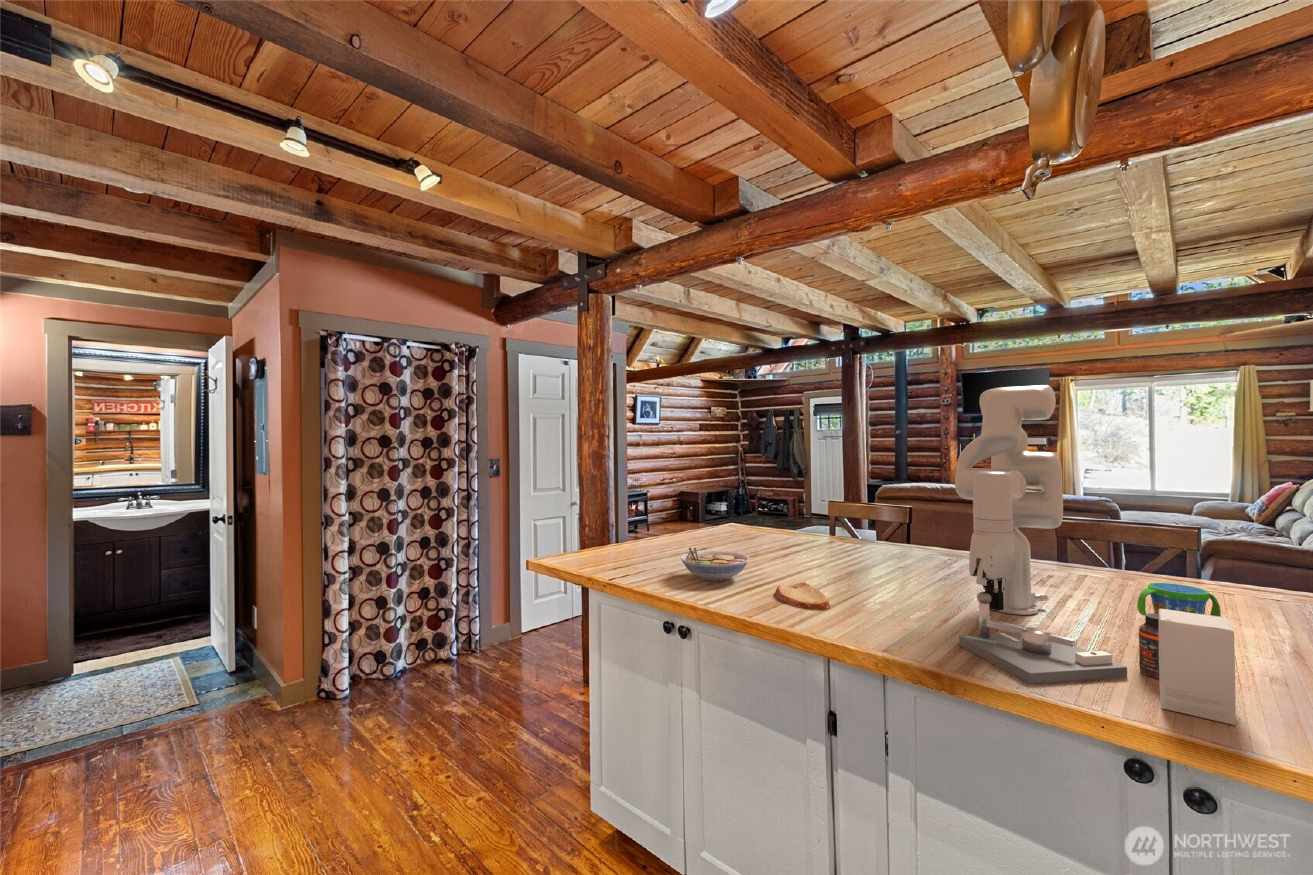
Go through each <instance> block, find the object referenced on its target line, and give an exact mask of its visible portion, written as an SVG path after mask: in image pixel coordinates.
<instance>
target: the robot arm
mask: <svg viewBox="0 0 1313 875" xmlns="http://www.w3.org/2000/svg"><path fill="white" fill-rule="evenodd" d="M1056 401H1057V399H1056V394H1055V391H1054V388H1053V387H1052V386H1050V385H1048V384H1045V385H1044V384H1040V385H1022V386H1019V385H1018V386H1005V387H1004V386H1003V387H1002V386H1001V387H995V388H990V389H987V390H984V391H983V392H982V393H980V396H979V407H980V411H981V415H982V425H981V430H980V431H981V433H980V435H978V436H977V437H976V438H974V439H973V440H972V441H970V443H968V444H967V445H966V446H965V448H964V449H963V450H962V451H961V452H960V454H959V456H958V459H957V463H956V471H955V475H954V487H955V488H954V489H955V491H956V494H957V495H958V496H959V497H960V498H961V499H965V500H972V516H973V519H972V521H973V532H972V534H971V538H970V539H971V540H970V545H969V546H970V547H969V560H968V561H969V564H968V566H969V568H968V571H969V575H970V576H971V577H976V582H975V583H976V585H977V584H978V585H981V586H982V588H983V590H984V592H987V593H989V594H990V596H991V599H992V600H991V602H990V603H989V604H990V610H991V609H992V610H991V611H994V610H995V612H998V613H1003V614H1010V615H1019V616H1020V615H1021V616H1025V615H1027V616H1028V615H1036V614H1037V613H1039V606H1038V605H1036V603H1038V602H1047V601H1048V600H1049V597H1048V595H1047V594H1046V593H1037V594H1036V593H1035V592H1033V591H1032V573H1031V572H1032V570H1031V568H1032V567H1031V566H1032V565H1031V564H1032V563H1031V560H1032V559H1031V543H1030V542H1029V539H1028V538H1027V537H1026V535H1024V534H1023V532H1022V531H1020V529H1019V528H1033V529H1048V530H1049V529H1050V530H1051V529H1052V530H1053V529H1057V528H1058V527H1060V526H1061V525H1062V524H1063V523H1062V522H1063V516H1064V495H1063V494H1064V490H1063V488H1064V487H1063V486H1064V485H1063V484H1064V483H1063V468H1062V466H1063V465H1062V463H1061V459H1060V458H1059V456H1057V455H1056V454H1055V453H1054V452H1053V453H1052V452H1047V451H1029V450H1028V446H1029V445H1028V442H1029V441H1028V440H1029V439H1028V438H1029V437H1028V434H1027V432H1026V431H1025V430H1024V429H1023V427H1022V424H1023V423H1022V422H1023V421H1042V420H1043V421H1044V420H1048V419H1050V418H1051V417H1052V415H1053V413H1054V412H1055V409H1056V403H1057V402H1056ZM988 458H991V459H990V462H991V463H990V464H991V466H990V468H973V467H974V466H975V465H976V464H978V463H979V462H982V461H984V460H986V459H988ZM1027 488H1038V489H1039V490H1041V491H1033V490H1030V491H1028V490H1027Z"/></svg>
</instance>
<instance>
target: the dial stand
mask: <svg viewBox="0 0 1313 875" xmlns="http://www.w3.org/2000/svg"><path fill="white" fill-rule="evenodd" d="M958 642H959V643H958V644H959V646H960V647H962V648H963V649H966V650H967V651H969V652H971V653H973V654H974V655H977V656H978V657H981V658H982V659H984V660H986V661H988V662H990V664H991V663H992V665H995V666H997V667H999V668H1000V669H1002V670H1004V671H1005V672H1008V673H1010V674H1012V675H1013V676H1015V677H1016V678H1018V679H1021V680H1023V681H1024V682H1025V683H1028V684H1030V685H1037V684H1039V685H1040V684H1052V683H1066V682H1082V681H1083V682H1084V681H1097V680H1112V679H1113V680H1116V679H1128V667H1127V666H1125V665H1123V664H1121V663H1118V662H1116V661H1113V654H1111V653H1109V652H1106V651H1104V650H1099V651H1097V650H1096V651H1095V650H1094V651H1089V650H1087V649H1084V648H1082V647H1080V646H1077V645H1075V646H1074V647H1071V646H1066V645H1062V644H1058V643H1054V642H1051V653H1046V654H1044V653H1035V652H1031V651H1028V650H1025V649H1024V648H1022V635H1019V634H1015V633H1011V632H1008V633H1004V632H998V633H992V634H991V633H990V637H983V636H980V634H976V635H975V634H973V635H958Z"/></svg>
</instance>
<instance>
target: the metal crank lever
mask: <svg viewBox="0 0 1313 875" xmlns="http://www.w3.org/2000/svg"><path fill="white" fill-rule="evenodd" d="M976 600H977V601H978V602H977V603H978V616H979V617H978V619H979V621H978V622H979V623H978V624H979V629H978V630H979V631H978V632H979V633H978V635H980V636H983V637H990V634H991V629H996V630H1000V631H1002V632H1003V631H1004V632H1008V633H1015V634H1019V635H1022V648H1024V649H1025V650H1028V651H1031V652H1035V653H1044V654H1046V653H1051V642H1054V643H1058V644H1062V645H1066V646H1071V647H1074V646H1076V639H1074V638H1070V637H1065V636H1061V635H1057V634H1053V633H1051V631H1048V630H1047V629H1043V628H1039V627H1031V626H1029V627H1028V626H1027V627H1026V626H1022V625H1018V624H1012V623H1008V622H1004V621H1000V620H996V619H991V615H990V613H991V611H990V610H991V609H990V604H989V603H990V602H991V600H992V599H991V596H990V594H989V593H987V592H985V590H984V591H979V592H978V593H977V594H976Z"/></svg>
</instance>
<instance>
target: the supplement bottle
mask: <svg viewBox="0 0 1313 875" xmlns="http://www.w3.org/2000/svg"><path fill="white" fill-rule="evenodd" d="M1144 621H1145V622H1144V623H1143V624H1141V625H1140V626H1139V628H1138V643H1139V644H1138V645H1139V646H1138V647H1139V648H1138V649H1139V650H1138V656H1139V657H1138V658H1139V660H1138V664H1139V670H1140V672H1141V673H1142V674H1144V675H1145V676H1147V677H1150V678H1152V679H1155V680H1159V614H1154V612H1151V613H1146V615H1145V619H1144Z"/></svg>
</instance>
